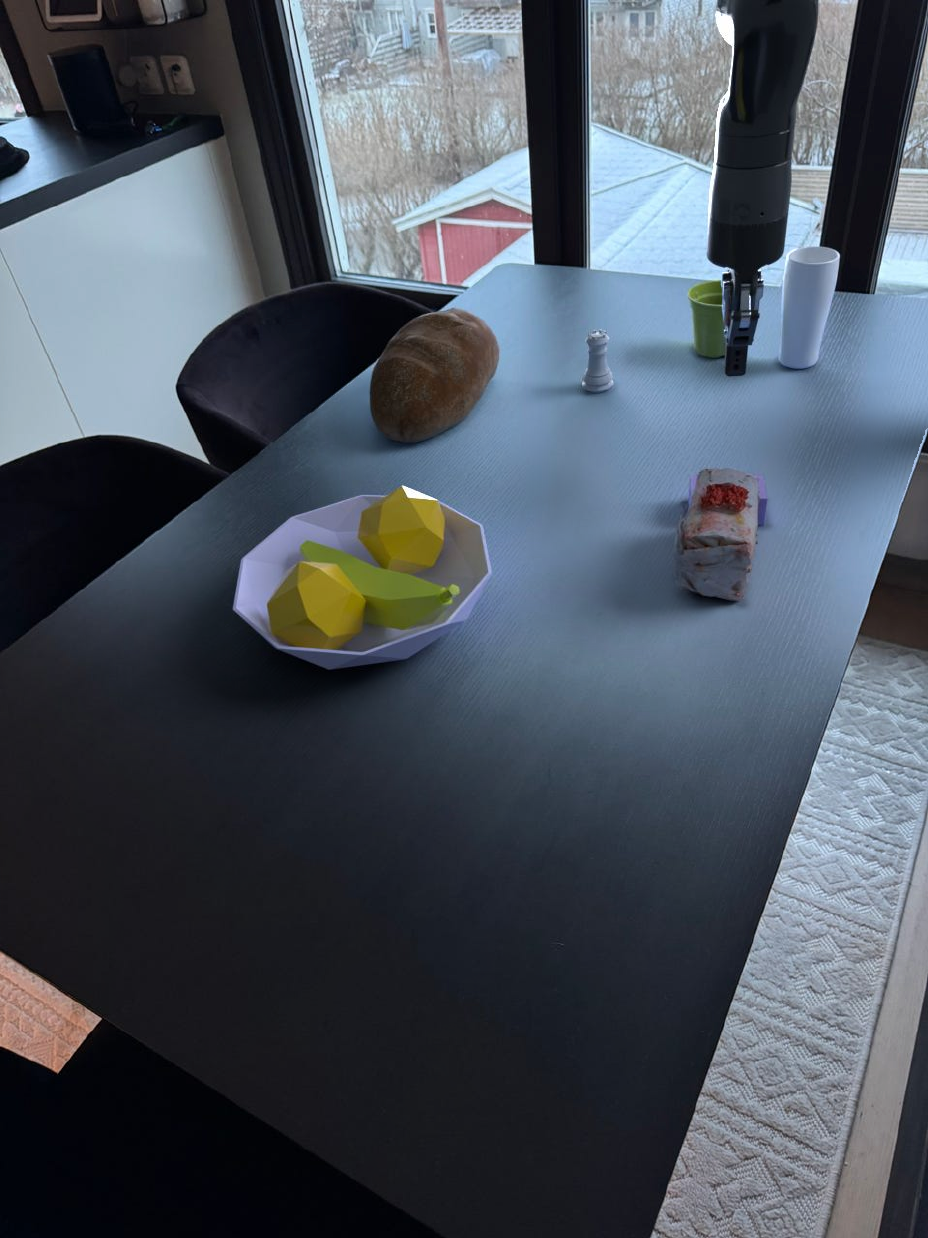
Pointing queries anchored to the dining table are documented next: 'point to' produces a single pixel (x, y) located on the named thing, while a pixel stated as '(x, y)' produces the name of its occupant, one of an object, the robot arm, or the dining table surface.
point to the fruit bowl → (364, 579)
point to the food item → (718, 535)
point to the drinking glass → (806, 303)
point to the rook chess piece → (597, 364)
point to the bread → (432, 374)
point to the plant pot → (708, 318)
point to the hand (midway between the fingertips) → (734, 372)
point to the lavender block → (762, 490)
